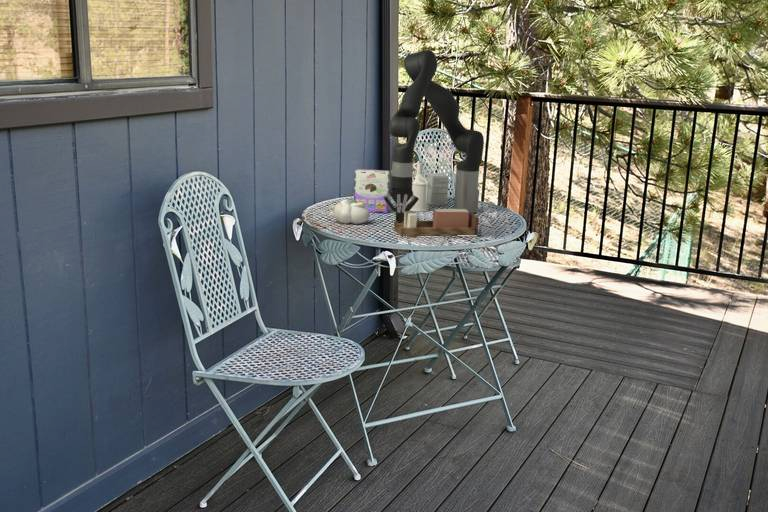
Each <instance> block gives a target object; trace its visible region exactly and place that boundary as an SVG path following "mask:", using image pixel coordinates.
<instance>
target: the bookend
mask: <svg viewBox="0 0 768 512" xmlns="http://www.w3.org/2000/svg"><path fill="white" fill-rule="evenodd" d="M417 221H418V215H417V214H416V213H415V212H413V211H412V210H410V211H406V212H405V213H404V227H405V228H416V223H417Z"/></svg>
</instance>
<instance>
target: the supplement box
mask: <svg viewBox="0 0 768 512" xmlns="http://www.w3.org/2000/svg"><path fill="white" fill-rule="evenodd" d="M426 175H427V176H426V180H427V181H428V182H430V184H429V197H428V205H430V206H447V205H448V204H447V203H448V192H449V191H448V190H449V189H448V188H449V175H446V174H445V173H443V172H430V173H429V172H428V173H427V174H426Z"/></svg>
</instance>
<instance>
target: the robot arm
mask: <svg viewBox="0 0 768 512" xmlns="http://www.w3.org/2000/svg"><path fill="white" fill-rule="evenodd" d="M403 65H404V66H403V67H404V70H405V72H406V74H407V76H409V78H410V79H411V81H412V83H411V84H410V85H409V87H408V88H407V89H406V91H405V92H404V94H403V96H402V99H401V103H400V106H399V108H398V109H397V111H396V112H395V114H393V115H392V118H391V119H390V122H389V124H388V125H389V126H388V131H389V134H390V135H391V136H392V137H394V138H401V139H402V138H405V139H407V141H406V142H405V143H398V144H395V145H394V146H393V151H392V153H393V154H392V166H391V170H390V190H389V194H388V195H387V196H384V197H383V199H384V200H385V201H386V203H387V204H388V205H389V209H391V211H393V212H395V220H396V221H397V222H398V223H402V221H404V213H405V212H406V211H410V209H411V208H412V207H413V206H414V205H415V203H416V202H417V201H418V200H419V199H418V197H416V196H415V195H413V191H412V181H413V180H414V178H413V177H414V176H413V174H414V149H415V146H416V142H417V139H418V136H419V133H420V129H421V124H420V121H419V120H418V118H417V117H418V116H419V115H420V114H419V113H420V110H421V107H422V102H423V99H424V97H425V98H426V99H425V100H427V102H428V103H429V105H430V107H431V109H433V111H434V113H435V114H436V116H437V117H438V119H439V120H440V122H441V124H442V126H444V129H445V130H446V131H447V134H448V136H449V138H450V140H451V141H452V144H453V146H454V148H455V149H456V150H457V151H459V152H461V153H466V155H465V158H464V159H463V160H460V161H457V163H456V171H455V182H454V185H455V186H454V196H453V197H454V199H453V201H454V202H453V209H466V210H467V211H470V212H471V213H473V214H475V213H474V212H478V210H479V201H480V200H479V197H480V189H479V179H480V178H479V176H480V167H481V164H482V162H483V153H484V147H485V146H484V145H485V140H484V139H485V138H484V135H483V133H482V132H481V131H479V130H472V129H468V128H465V126H464V125H463V124H462V122H461V121H460V118H459V116H460V106H459V103H458V101H457V99H456V98H455V96H454V94H453V93H452V92H451V91H450V90H449V89H448V88H446V87H444V86H443V85H441V84H439V83H437V82H435V81H433V78H434V77H435V75H436V72H437V68H438V58H437V56H436V54H435V53H434V51H433V50H431V49H425V50H420V51H418V52H414V53H413V52H412V53H410V54H408V55H406V56H405V57H404V59H403ZM391 198H392V199H391ZM410 198H411V201H410V203H409V204H408V205H407V202H408V201H409V199H410ZM391 200H393V201H394V203H395V206H394V205H393V204H392V203H393V202H391ZM406 205H407V206H406Z"/></svg>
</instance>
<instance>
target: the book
mask: <svg viewBox="0 0 768 512" xmlns="http://www.w3.org/2000/svg"><path fill="white" fill-rule="evenodd" d="M468 220H469V212H468V211H467V210H466V209H454V208H433V214H432V221H433V226H432V228H468Z"/></svg>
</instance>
